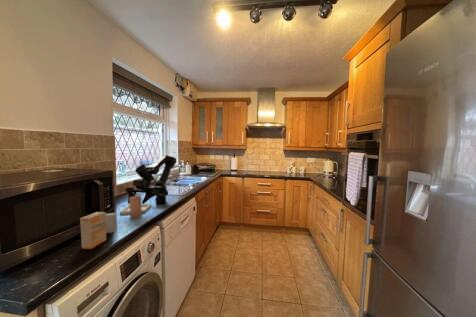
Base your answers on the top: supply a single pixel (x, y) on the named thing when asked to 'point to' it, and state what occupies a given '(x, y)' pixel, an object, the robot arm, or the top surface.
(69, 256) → the top surface
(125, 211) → the tray
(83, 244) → the supplement box
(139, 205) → the reddish-brown tall piece
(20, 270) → the top surface
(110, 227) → the medicine box
